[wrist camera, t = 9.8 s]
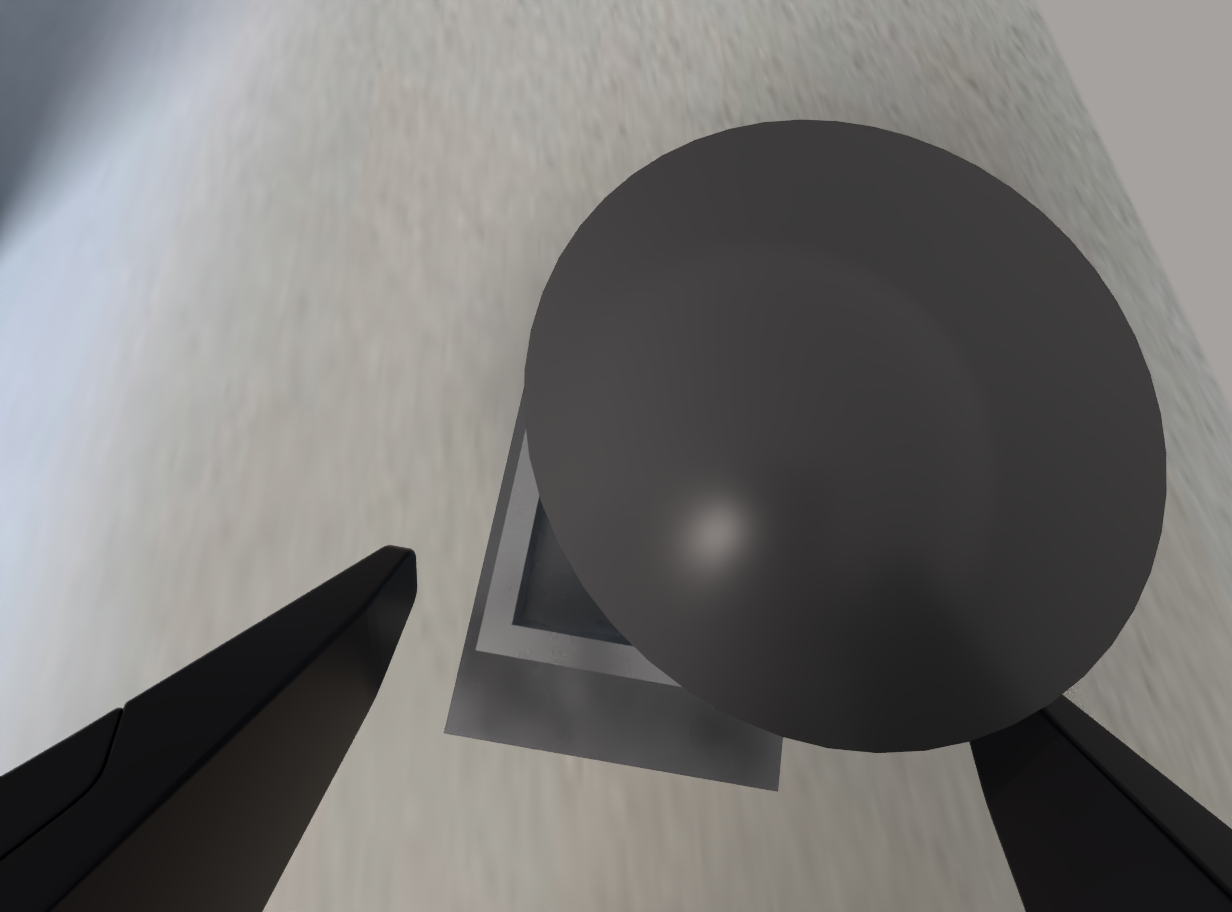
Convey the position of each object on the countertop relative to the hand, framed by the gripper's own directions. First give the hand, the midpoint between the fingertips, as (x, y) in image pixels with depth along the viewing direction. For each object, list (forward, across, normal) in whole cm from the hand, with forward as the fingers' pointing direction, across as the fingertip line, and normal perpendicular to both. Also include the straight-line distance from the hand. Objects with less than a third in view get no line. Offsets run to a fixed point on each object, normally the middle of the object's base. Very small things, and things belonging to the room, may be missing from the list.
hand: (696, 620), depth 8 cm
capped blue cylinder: (+8, 0, +4) cm, 9 cm away
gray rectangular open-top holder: (+10, 0, +6) cm, 12 cm away
